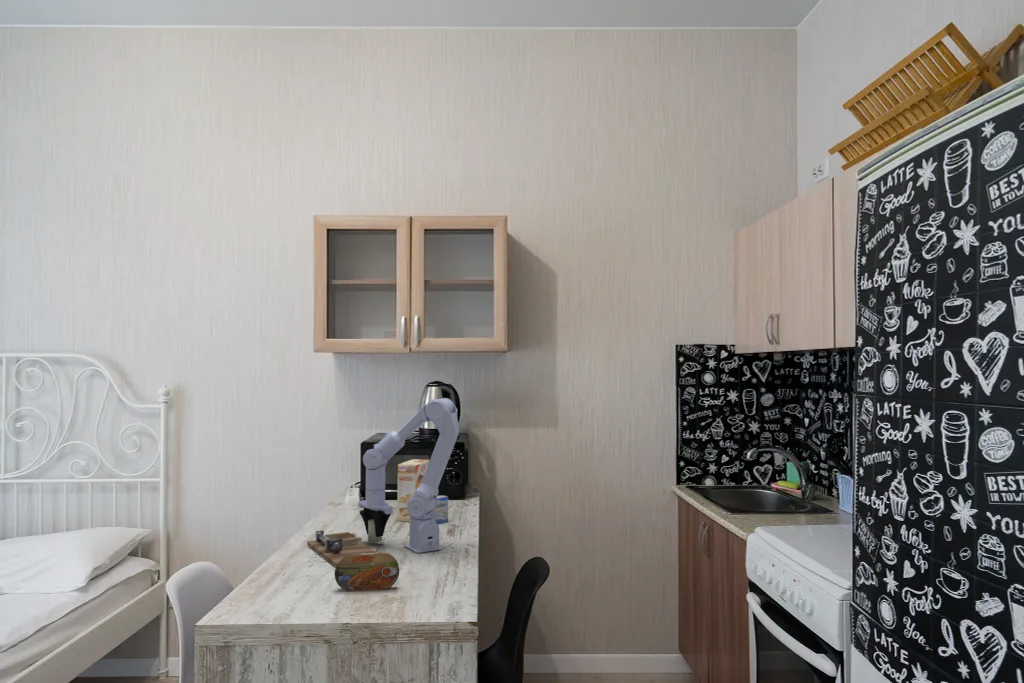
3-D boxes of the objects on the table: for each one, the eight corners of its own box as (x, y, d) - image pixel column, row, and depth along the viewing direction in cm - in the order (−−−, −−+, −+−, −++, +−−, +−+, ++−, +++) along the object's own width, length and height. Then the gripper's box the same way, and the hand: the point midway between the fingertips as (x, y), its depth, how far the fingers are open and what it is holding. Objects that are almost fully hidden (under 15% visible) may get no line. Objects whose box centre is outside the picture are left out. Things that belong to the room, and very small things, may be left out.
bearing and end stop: (342, 550, 195) (342, 538, 195) (326, 552, 193) (326, 540, 193) (326, 539, 207) (326, 528, 208) (311, 541, 205) (311, 530, 205)
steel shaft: (341, 552, 192) (342, 542, 193) (332, 553, 191) (332, 543, 191) (325, 540, 206) (325, 531, 206) (316, 541, 204) (316, 532, 204)
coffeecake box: (415, 522, 237) (416, 464, 238) (396, 521, 239) (396, 464, 240) (429, 513, 252) (430, 459, 253) (410, 512, 254) (411, 458, 254)
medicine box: (432, 525, 232) (432, 499, 233) (422, 523, 235) (423, 498, 235) (448, 521, 239) (448, 496, 239) (439, 520, 241) (439, 494, 242)
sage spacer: (384, 539, 208) (384, 519, 208) (376, 543, 204) (376, 522, 205) (373, 538, 210) (373, 518, 210) (365, 541, 206) (365, 521, 206)
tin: (334, 592, 163) (334, 555, 163) (335, 588, 166) (336, 552, 167) (399, 589, 165) (399, 553, 165) (399, 585, 168) (399, 550, 169)
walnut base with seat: (385, 562, 188) (385, 550, 188) (338, 569, 181) (338, 557, 181) (350, 540, 212) (350, 529, 212) (307, 545, 205) (307, 534, 206)
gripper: (401, 490, 206) (400, 536, 205) (372, 484, 216) (371, 529, 215) (381, 493, 200) (381, 541, 200) (352, 487, 210) (352, 532, 210)
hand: (375, 535), depth 207 cm, fingers closed on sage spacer, 4 cm apart
